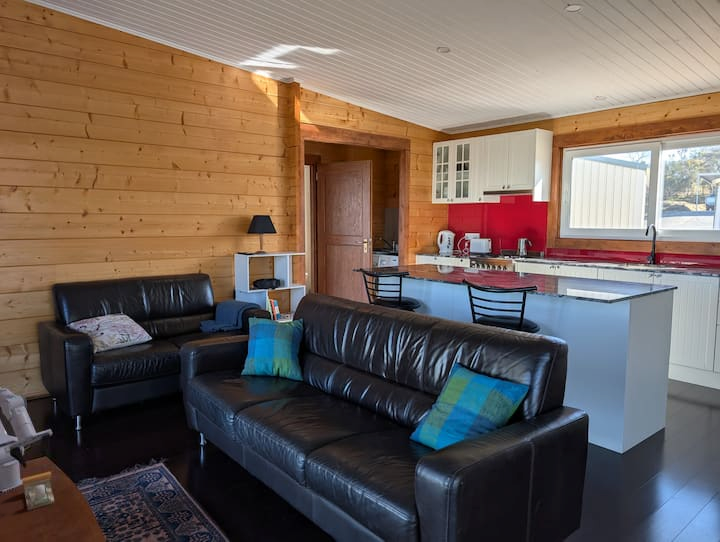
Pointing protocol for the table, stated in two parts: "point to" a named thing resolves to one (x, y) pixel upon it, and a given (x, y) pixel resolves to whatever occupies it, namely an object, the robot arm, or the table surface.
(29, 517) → the table surface
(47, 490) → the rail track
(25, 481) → the orange brown bar
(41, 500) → the greenish grey block
